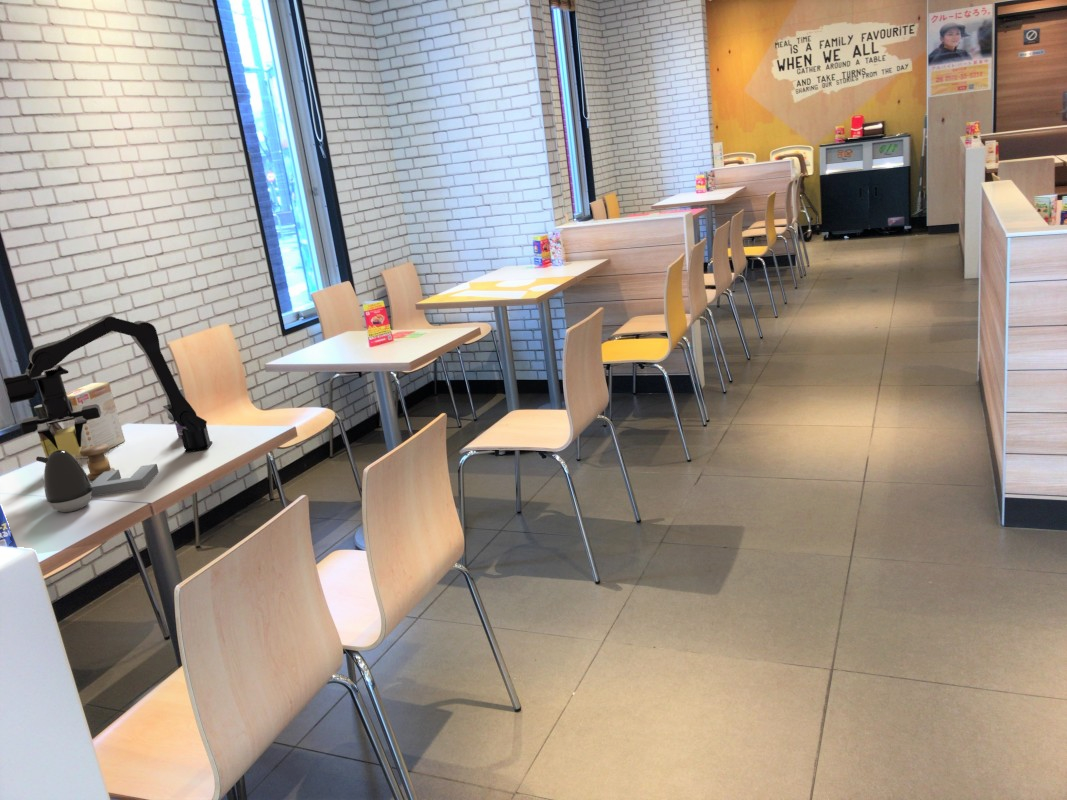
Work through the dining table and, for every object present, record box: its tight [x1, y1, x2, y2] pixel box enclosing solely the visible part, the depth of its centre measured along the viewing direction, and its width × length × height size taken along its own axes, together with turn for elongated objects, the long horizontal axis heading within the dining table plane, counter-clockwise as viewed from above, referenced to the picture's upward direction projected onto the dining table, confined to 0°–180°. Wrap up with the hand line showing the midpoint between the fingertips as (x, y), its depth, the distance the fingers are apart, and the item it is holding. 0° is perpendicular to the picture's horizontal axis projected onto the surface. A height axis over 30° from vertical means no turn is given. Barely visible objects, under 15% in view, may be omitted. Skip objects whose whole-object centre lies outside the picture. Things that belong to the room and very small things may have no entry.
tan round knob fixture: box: [80, 444, 116, 482], centre depth 231 cm, size 7×7×8 cm
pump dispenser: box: [35, 450, 92, 513], centre depth 208 cm, size 10×10×15 cm
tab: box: [54, 426, 82, 455], centre depth 226 cm, size 7×4×6 cm, turn 23°
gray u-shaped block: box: [90, 463, 160, 497], centre depth 222 cm, size 14×12×2 cm
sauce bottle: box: [33, 403, 63, 458], centre depth 239 cm, size 6×6×20 cm
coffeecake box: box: [61, 381, 126, 460], centre depth 256 cm, size 15×7×20 cm, turn 164°
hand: (70, 448), depth 226 cm, fingers closed on tab, 4 cm apart
